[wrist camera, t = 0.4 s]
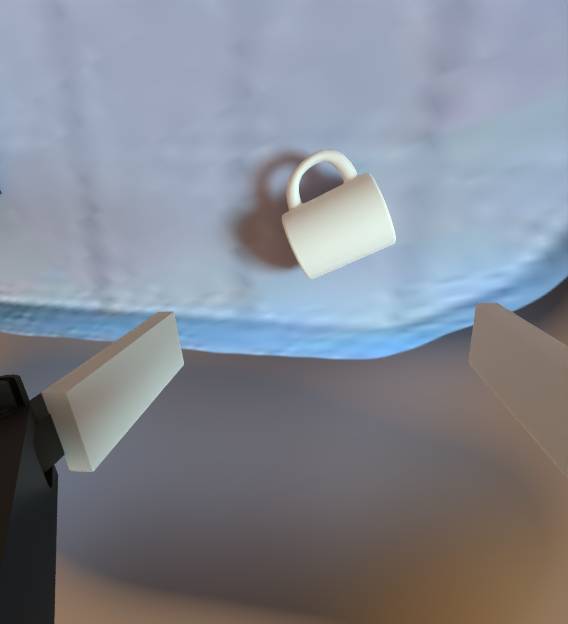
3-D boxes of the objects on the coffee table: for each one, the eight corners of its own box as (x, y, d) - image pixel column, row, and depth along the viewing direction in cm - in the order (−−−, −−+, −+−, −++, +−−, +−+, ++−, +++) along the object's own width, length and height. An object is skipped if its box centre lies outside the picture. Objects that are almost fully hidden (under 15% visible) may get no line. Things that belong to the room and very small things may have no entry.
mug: (387, 238, 39) (402, 248, 31) (312, 272, 41) (309, 288, 34) (350, 139, 36) (356, 123, 28) (271, 181, 38) (257, 177, 31)
